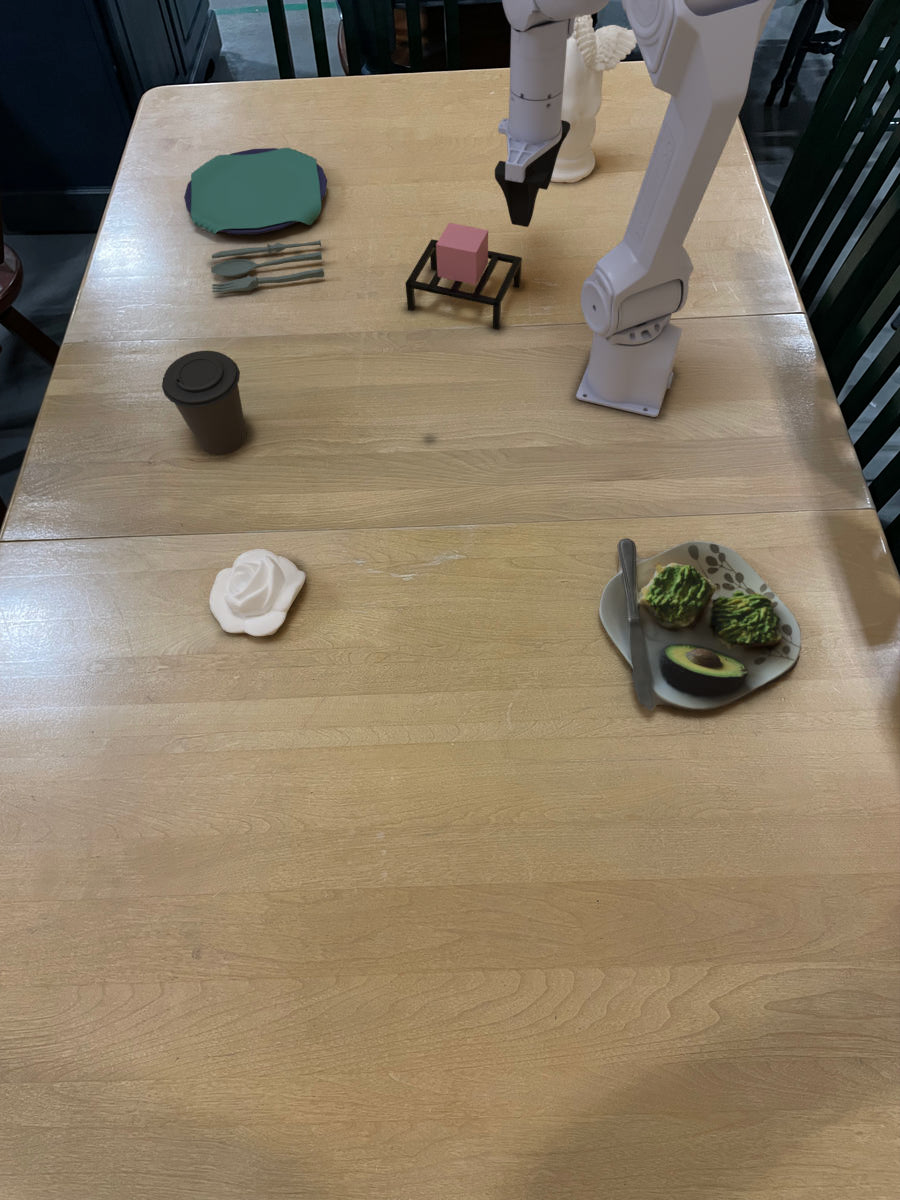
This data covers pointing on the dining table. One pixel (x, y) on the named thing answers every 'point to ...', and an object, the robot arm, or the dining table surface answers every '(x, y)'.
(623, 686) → the dining table surface
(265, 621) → the rose
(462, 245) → the pink box
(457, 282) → the rack
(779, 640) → the avocado toast plate
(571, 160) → the cherub figurine
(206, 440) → the coffee cup
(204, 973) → the dining table surface
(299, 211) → the cutlery set
